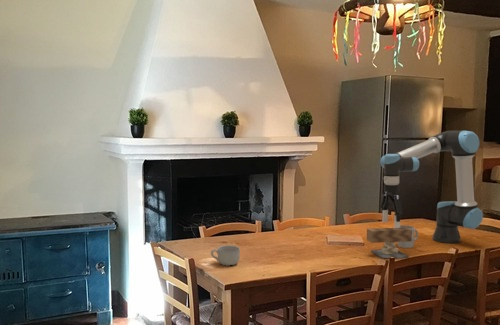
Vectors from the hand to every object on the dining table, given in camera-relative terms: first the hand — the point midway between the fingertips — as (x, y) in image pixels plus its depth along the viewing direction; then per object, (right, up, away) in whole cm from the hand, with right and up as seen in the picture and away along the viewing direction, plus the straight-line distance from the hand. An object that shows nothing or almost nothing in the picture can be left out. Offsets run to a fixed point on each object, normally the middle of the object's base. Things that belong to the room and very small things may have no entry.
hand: (390, 224), depth 245 cm
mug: (+16, -15, +20) cm, 29 cm away
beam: (-1, -8, 0) cm, 8 cm away
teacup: (-85, -17, -18) cm, 88 cm away
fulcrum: (-1, -16, +1) cm, 16 cm away
